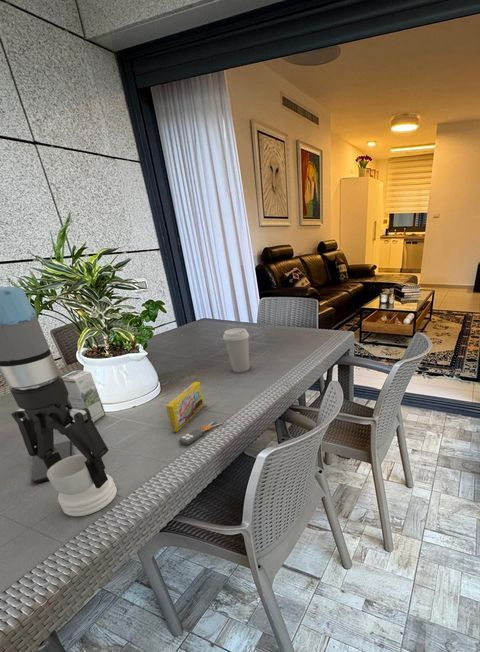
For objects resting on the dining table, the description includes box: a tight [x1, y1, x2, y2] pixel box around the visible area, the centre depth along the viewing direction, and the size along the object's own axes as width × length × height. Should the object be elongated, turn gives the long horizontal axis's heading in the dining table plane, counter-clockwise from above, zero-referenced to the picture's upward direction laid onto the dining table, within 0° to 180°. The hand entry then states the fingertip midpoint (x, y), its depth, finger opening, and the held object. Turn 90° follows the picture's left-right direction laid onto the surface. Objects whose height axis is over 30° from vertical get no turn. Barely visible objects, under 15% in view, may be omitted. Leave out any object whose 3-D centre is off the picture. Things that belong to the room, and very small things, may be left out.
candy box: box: [165, 381, 205, 433], centre depth 102 cm, size 16×2×8 cm, turn 170°
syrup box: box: [61, 370, 106, 424], centre depth 102 cm, size 6×6×14 cm
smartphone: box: [31, 440, 73, 484], centre depth 87 cm, size 8×1×16 cm
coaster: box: [57, 473, 118, 517], centre depth 74 cm, size 10×10×4 cm
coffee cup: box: [222, 327, 251, 373], centre depth 133 cm, size 10×10×15 cm
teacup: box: [47, 453, 94, 495], centre depth 71 cm, size 10×8×5 cm
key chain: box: [178, 421, 224, 446], centre depth 96 cm, size 13×4×2 cm, turn 149°
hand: (83, 482), depth 72 cm, fingers closed on teacup, 8 cm apart
